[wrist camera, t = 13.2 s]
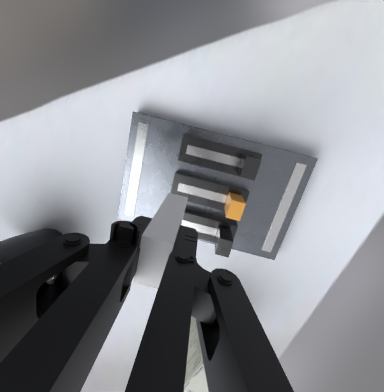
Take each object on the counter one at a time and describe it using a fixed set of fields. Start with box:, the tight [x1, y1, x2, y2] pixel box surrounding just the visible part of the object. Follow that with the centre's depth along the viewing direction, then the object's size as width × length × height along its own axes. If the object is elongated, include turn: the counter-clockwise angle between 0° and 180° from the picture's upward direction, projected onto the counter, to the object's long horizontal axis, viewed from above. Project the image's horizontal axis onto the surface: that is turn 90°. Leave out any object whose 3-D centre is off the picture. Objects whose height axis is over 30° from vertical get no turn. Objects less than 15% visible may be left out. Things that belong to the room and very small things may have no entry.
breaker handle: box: [224, 192, 246, 221], centre depth 23 cm, size 2×2×3 cm
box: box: [184, 316, 209, 392], centre depth 28 cm, size 5×4×11 cm
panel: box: [118, 112, 317, 260], centre depth 24 cm, size 14×22×6 cm, turn 76°
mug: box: [0, 229, 63, 282], centre depth 28 cm, size 8×12×10 cm
